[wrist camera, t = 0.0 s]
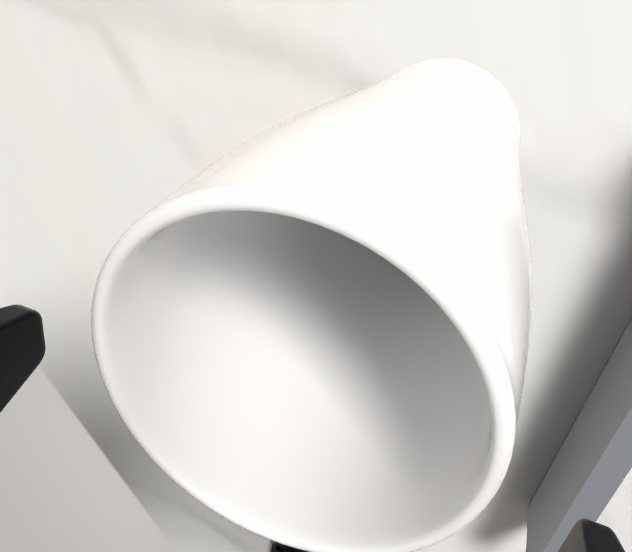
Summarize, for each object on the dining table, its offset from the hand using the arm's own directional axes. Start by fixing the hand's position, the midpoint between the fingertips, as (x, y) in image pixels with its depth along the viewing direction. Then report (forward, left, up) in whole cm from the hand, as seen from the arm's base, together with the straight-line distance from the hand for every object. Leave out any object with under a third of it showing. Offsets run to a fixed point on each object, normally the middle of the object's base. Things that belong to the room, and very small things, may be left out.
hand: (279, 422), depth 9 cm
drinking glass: (+1, 0, -15) cm, 15 cm away
